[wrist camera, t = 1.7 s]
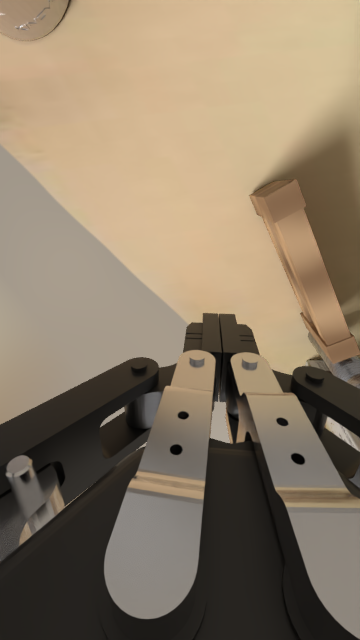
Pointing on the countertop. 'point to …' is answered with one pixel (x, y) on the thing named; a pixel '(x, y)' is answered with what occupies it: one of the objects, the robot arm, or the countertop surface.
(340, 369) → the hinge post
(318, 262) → the gate
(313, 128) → the countertop surface
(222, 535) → the robot arm
